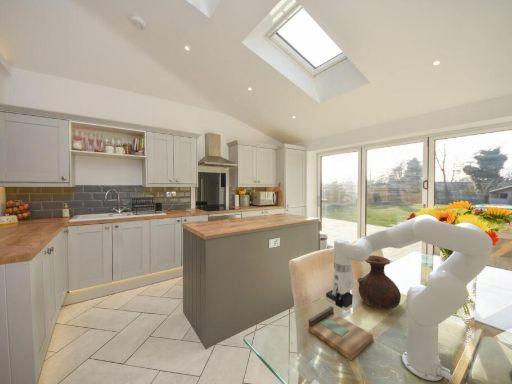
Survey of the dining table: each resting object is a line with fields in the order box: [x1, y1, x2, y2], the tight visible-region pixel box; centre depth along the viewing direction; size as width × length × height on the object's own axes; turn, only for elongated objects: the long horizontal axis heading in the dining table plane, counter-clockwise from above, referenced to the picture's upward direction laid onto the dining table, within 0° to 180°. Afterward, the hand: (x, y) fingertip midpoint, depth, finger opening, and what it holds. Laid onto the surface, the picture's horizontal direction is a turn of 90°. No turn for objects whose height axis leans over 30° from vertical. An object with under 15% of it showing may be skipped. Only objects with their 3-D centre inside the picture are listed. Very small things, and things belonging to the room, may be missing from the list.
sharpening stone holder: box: [308, 306, 374, 361], centre depth 101 cm, size 22×18×6 cm
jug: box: [357, 255, 402, 311], centre depth 124 cm, size 22×22×30 cm
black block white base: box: [325, 289, 354, 312], centre depth 101 cm, size 11×5×6 cm, turn 36°
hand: (342, 303), depth 100 cm, fingers closed on black block white base, 5 cm apart
